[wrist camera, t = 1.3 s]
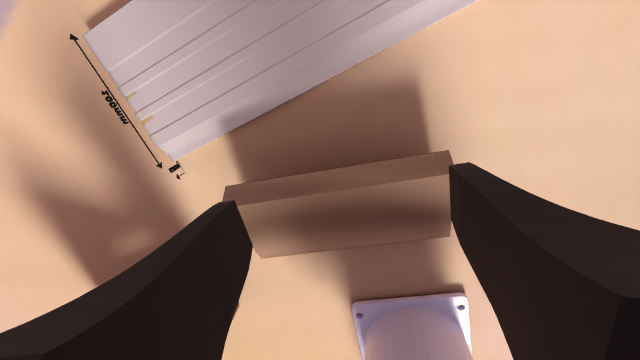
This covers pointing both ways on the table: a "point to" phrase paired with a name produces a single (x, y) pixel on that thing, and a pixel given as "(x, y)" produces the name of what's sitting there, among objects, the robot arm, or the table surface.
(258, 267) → the table surface
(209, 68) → the baseboard
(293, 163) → the table surface
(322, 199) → the plank
